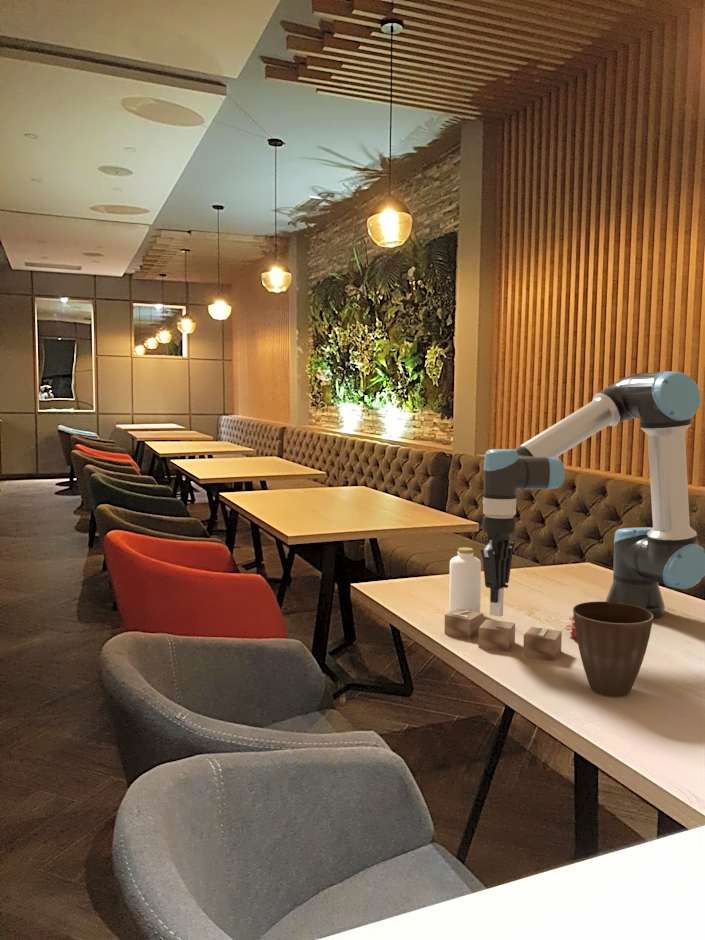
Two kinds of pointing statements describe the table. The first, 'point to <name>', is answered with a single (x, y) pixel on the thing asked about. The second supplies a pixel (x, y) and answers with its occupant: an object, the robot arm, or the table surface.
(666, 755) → the table surface
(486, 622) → the plain block
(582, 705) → the table surface
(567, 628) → the flower
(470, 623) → the marked block seven
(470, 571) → the potion bottle
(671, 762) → the table surface
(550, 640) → the marked block one
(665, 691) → the table surface
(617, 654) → the plant pot
